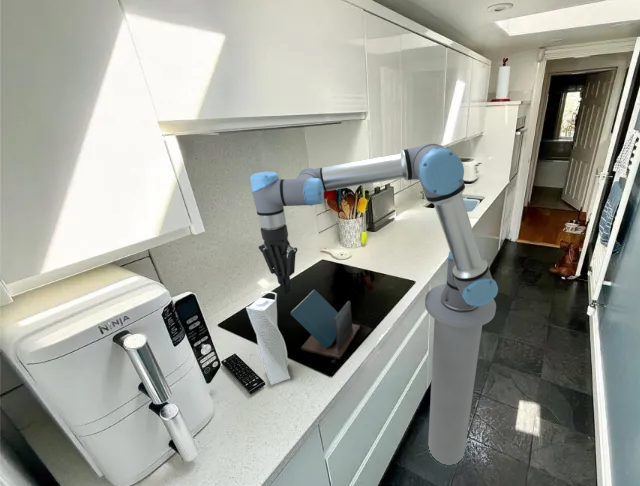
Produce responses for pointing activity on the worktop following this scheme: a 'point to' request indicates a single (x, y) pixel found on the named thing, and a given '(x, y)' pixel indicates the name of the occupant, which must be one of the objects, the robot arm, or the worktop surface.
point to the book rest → (343, 336)
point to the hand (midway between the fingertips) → (286, 292)
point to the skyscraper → (269, 338)
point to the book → (317, 318)
